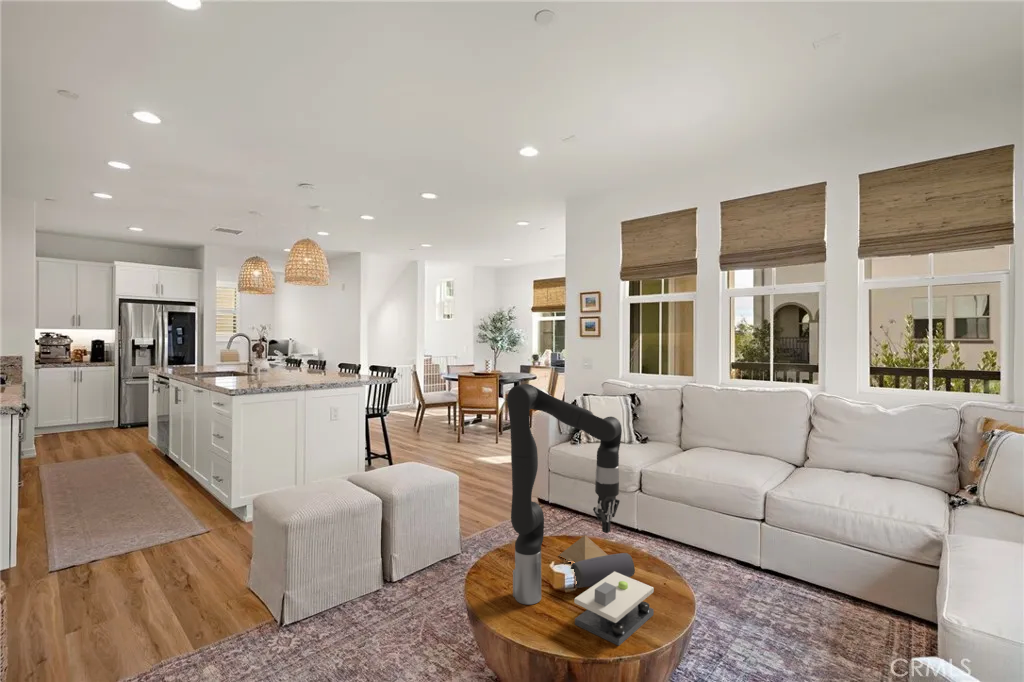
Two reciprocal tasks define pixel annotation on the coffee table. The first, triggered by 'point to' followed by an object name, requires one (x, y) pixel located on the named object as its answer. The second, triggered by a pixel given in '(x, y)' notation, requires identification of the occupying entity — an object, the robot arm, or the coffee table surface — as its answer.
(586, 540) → the model pyramid
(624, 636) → the tribrach base
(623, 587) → the plate
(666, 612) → the coffee table surface
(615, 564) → the bluetooth speaker
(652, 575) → the coffee table surface
